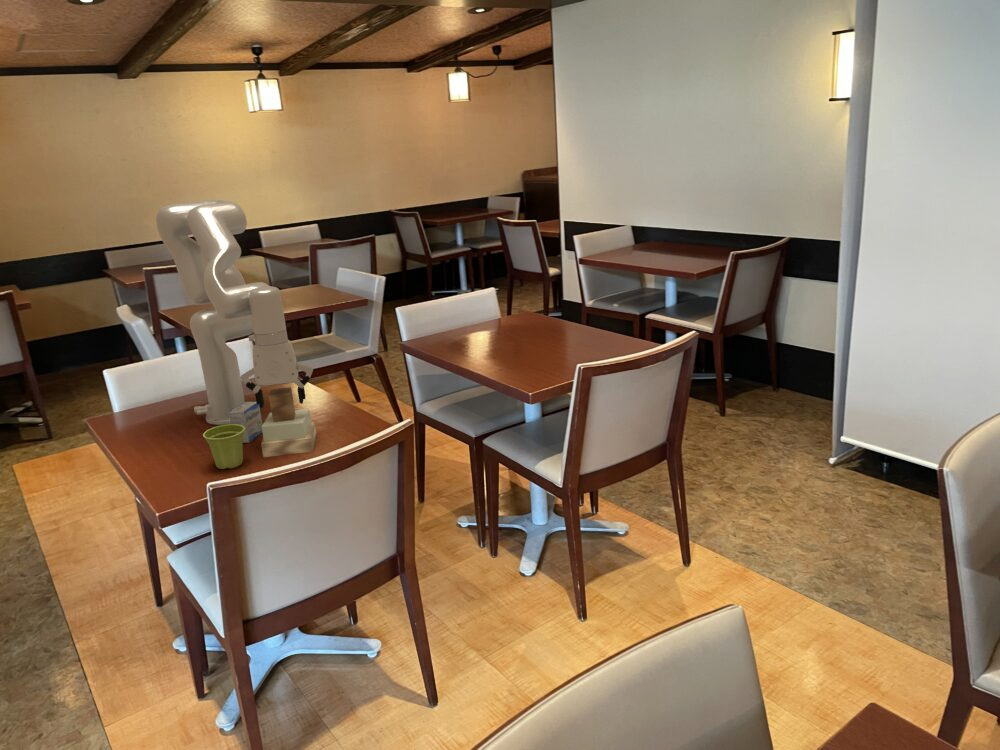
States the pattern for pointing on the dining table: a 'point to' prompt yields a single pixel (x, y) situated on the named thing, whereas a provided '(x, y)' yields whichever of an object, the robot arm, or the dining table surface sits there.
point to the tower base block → (290, 444)
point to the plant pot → (226, 445)
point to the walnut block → (282, 404)
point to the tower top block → (287, 427)
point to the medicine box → (248, 420)
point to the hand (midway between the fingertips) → (281, 404)
